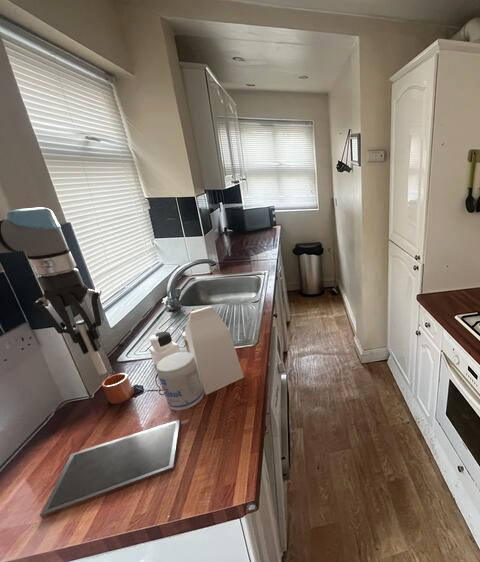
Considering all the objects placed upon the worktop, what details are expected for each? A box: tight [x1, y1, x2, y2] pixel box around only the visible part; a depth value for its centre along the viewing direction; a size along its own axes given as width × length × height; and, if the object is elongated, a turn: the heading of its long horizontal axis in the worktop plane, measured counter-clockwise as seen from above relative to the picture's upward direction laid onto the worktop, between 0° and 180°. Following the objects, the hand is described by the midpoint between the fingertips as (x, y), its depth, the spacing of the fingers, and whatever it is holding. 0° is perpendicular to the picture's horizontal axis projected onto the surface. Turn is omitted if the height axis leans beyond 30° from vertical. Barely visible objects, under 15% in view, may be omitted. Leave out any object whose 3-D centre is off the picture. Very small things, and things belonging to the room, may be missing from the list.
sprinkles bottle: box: [181, 331, 190, 353], centre depth 109 cm, size 5×5×13 cm
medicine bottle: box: [148, 331, 181, 367], centre depth 110 cm, size 7×7×12 cm
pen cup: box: [101, 372, 135, 404], centre depth 95 cm, size 6×6×7 cm
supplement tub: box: [156, 351, 205, 411], centre depth 92 cm, size 10×10×15 cm
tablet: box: [39, 419, 182, 520], centre depth 75 cm, size 24×16×1 cm, turn 115°
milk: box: [184, 305, 245, 396], centre depth 99 cm, size 12×12×26 cm
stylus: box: [75, 319, 108, 376], centre depth 85 cm, size 2×2×17 cm
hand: (92, 349), depth 86 cm, fingers closed on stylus, 2 cm apart
